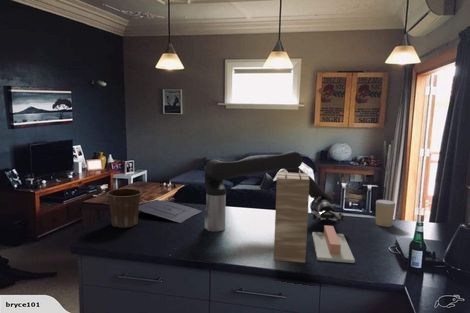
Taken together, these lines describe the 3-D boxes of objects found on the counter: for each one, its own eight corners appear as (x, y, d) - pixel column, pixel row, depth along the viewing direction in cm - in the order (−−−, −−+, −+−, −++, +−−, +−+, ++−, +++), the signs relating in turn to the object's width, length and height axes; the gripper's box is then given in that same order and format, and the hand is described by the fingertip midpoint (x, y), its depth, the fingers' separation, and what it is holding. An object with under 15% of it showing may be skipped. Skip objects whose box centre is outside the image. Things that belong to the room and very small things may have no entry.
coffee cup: (395, 223, 191) (396, 201, 189) (391, 228, 183) (393, 205, 181) (376, 220, 195) (377, 198, 194) (372, 225, 188) (374, 202, 186)
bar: (340, 254, 145) (340, 244, 144) (329, 253, 145) (330, 244, 145) (332, 234, 168) (333, 225, 168) (323, 233, 169) (324, 225, 168)
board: (354, 263, 140) (354, 260, 140) (317, 260, 142) (317, 257, 142) (343, 236, 169) (343, 234, 169) (312, 234, 171) (312, 231, 171)
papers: (157, 203, 216) (158, 197, 216) (202, 215, 205) (203, 209, 205) (131, 213, 194) (131, 206, 193) (179, 228, 183) (180, 221, 182)
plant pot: (146, 226, 177) (146, 193, 175) (113, 231, 168) (112, 197, 166) (135, 217, 191) (135, 187, 189) (103, 222, 182) (102, 190, 180)
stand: (305, 262, 139) (309, 176, 135) (273, 260, 141) (276, 175, 136) (303, 248, 153) (307, 170, 149) (274, 246, 154) (277, 169, 150)
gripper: (311, 202, 184) (313, 211, 168) (341, 204, 182) (345, 213, 166) (311, 217, 185) (313, 227, 169) (340, 218, 183) (344, 229, 167)
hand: (329, 220), depth 168 cm, fingers open, 8 cm apart
